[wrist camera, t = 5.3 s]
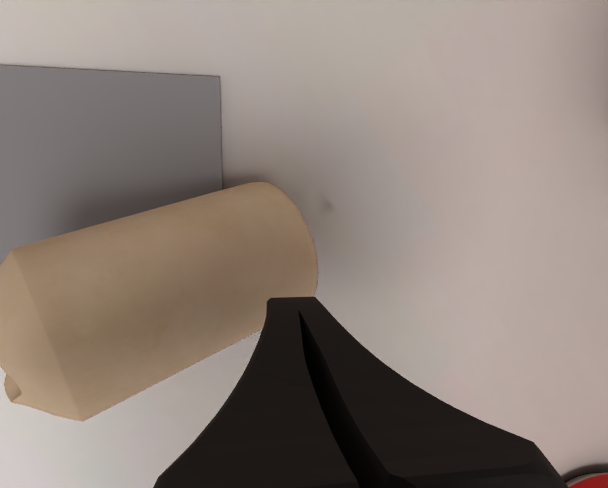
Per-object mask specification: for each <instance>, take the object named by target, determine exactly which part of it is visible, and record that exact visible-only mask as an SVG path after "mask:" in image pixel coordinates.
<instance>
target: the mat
mask: <svg viewBox="0 0 608 488" xmlns="http://www.w3.org/2000/svg"><path fill="white" fill-rule="evenodd" d="M220 190H223V188H222V145H221V102H220V76H201V75H182V74H164V73H145V72H126V71H107V70H88V69H69V68H50V67H31V66H12V65H0V265H1V264H2V262H3V261H4V259H5V258H6V256H7V255H8V254H9V252H10V251H11V249H12V248H16V247H19V246H23V245H26V244H30V243H33V242H37V241H41V240H44V239H48V238H51V237H55V236H58V235H62V234H66V233H69V232H73V231H76V230H80V229H84V228H87V227H91V226H94V225H98V224H102V223H105V222H109V221H112V220H116V219H120V218H123V217H127V216H130V215H134V214H137V213H141V212H145V211H148V210H152V209H155V208H159V207H163V206H166V205H170V204H173V203H177V202H181V201H184V200H188V199H191V198H195V197H199V196H202V195H206V194H209V193H213V192H216V191H220Z"/></svg>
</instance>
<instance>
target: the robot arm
mask: <svg viewBox="0 0 608 488" xmlns="http://www.w3.org/2000/svg"><path fill="white" fill-rule="evenodd" d="M153 488H568V486H567V485H566V483H565V482H564V481H563V479H562V478H561V477H560V475H559V474H558V473H557V471H556V470H555V469H554V467H553V466H552V465H551V463H550V462H549V461H548V459H547V458H546V457H545V456H544V454H543V453H542V452H541V451H540V449H539V448H538V447H537V446H536V445H535V444H534V442H532V441H529V440H527V439H524V438H522V437H520V436H517V435H515V434H512V433H510V432H507V431H505V430H502V429H500V428H497V427H495V426H493V425H490V424H488V423H485V422H483V421H481V420H479V419H477V418H475V417H473V416H471V415H469V414H467V413H464V412H462V411H460V410H458V409H456V408H454V407H452V406H451V405H449V404H447V403H445V402H443V401H441V400H439V399H438V398H436V397H434V396H433V395H431V394H429V393H427V392H426V391H424V390H422V389H421V388H419V387H417V386H416V385H414V384H413V383H411V382H410V381H408V380H406V379H405V378H404V377H402V376H401V375H399V374H398V373H397V372H395V371H394V370H392V369H391V368H390V367H388V366H387V365H385V364H384V363H383V362H382V361H380V360H379V359H378V358H376V357H375V356H374V355H373V354H372V353H371V352H369V351H368V350H367V349H366V348H365V347H364V346H362V345H361V344H360V343H359V342H358V341H357V340H356V339H355V338H354V337H353V336H352V335H351V334H350V333H349V332H348V331H347V330H346V329H345V328H344V327H343V326H342V325H341V324H340V323H339V322H338V321H337V320H336V319H335V318H334V317H333V316H332V315H331V314H330V313H329V312H328V310H327V309H326V308H325V307H324V306H323V305H322V304H321V303H320V302H319V301H318V300H317V299H316V297H278V298H270V299H269V300H268V301H267V308H266V319H265V323H264V326H263V329H262V332H261V335H260V338H259V341H258V344H257V346H256V348H255V350H254V353H253V355H252V357H251V359H250V361H249V363H248V365H247V367H246V369H245V371H244V373H243V375H242V377H241V378H240V380H239V382H238V383H237V385H236V387H235V388H234V390H233V391H232V393H231V394H230V396H229V397H228V399H227V400H226V402H225V403H224V405H223V406H222V408H221V409H220V410H219V412H218V413H217V414H216V416H215V417H214V418H213V419H212V420H211V422H210V423H209V424H208V425H207V426H206V428H205V429H204V430H203V431H202V432H201V434H200V435H199V436H198V437H197V438H196V440H195V441H194V442H193V443H192V444H191V445H190V446H189V447H188V448H187V449H186V450H185V451H184V452H183V453H182V454H181V455H180V456H179V457H178V458H177V459H176V460H175V461H174V462H173V463H172V464H171V465H170V466H169V467H168V468H167V469H166V470H165V471H164V472H163V473H162V474H161V475H160V476H159V477H158V479H157V481H156V483H155V485H154V487H153Z"/></svg>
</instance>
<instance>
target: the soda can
mask: <svg viewBox="0 0 608 488" xmlns="http://www.w3.org/2000/svg"><path fill="white" fill-rule="evenodd" d="M566 485H567V486H568V488H608V473H592V474H586V475H581V476H578V477H576V478H573V479H571V480H569V481H567V482H566Z"/></svg>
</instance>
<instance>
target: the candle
mask: <svg viewBox="0 0 608 488" xmlns="http://www.w3.org/2000/svg"><path fill="white" fill-rule="evenodd" d="M317 283H318V261H317V255H316V250H315V246H314V243H313V239H312V236H311V234H310V231H309V228H308V226H307V224H306V222H305V220H304V218H303V216H302V215H301V213H300V211H299V210H298V208H297V207H296V205H295V204H294V203H293V202H292V200H291V199H290V198H289V197H288V196H287V195H286V194H285V193H284V192H283V191H282V190H280V189H279V188H278V187H276V186H274V185H273V184H270V183H268V182H250V183H246V184H243V185H239V186H235V187H231V188H227V189H224V190H220V191H216V192H213V193H209V194H206V195H202V196H199V197H195V198H191V199H188V200H184V201H181V202H177V203H173V204H170V205H166V206H163V207H159V208H155V209H152V210H148V211H145V212H141V213H137V214H134V215H130V216H127V217H123V218H120V219H116V220H112V221H109V222H105V223H102V224H98V225H94V226H91V227H87V228H84V229H80V230H76V231H73V232H69V233H66V234H62V235H58V236H55V237H51V238H48V239H44V240H41V241H37V242H33V243H30V244H26V245H23V246H19V247H16V248H12V249H11V251H10V252H9V254H8V255H7V256H6V258H5V259H4V261H3V262H2V264H1V265H0V365H1V367H2V369H3V371H4V372H5V373H6V377H5V383H4V386H5V391H6V394H7V396H8V398H9V400H10V401H11V402H12V403H16V404H21V405H26V406H29V407H32V408H35V409H38V410H41V411H44V412H47V413H50V414H53V415H56V416H60V417H64V418H68V419H73V420H78V421H85V420H87V419H89V418H91V417H92V416H94V415H96V414H98V413H100V412H102V411H104V410H106V409H108V408H110V407H112V406H114V405H116V404H118V403H120V402H122V401H123V400H125V399H127V398H129V397H131V396H133V395H135V394H137V393H139V392H141V391H143V390H145V389H147V388H149V387H151V386H152V385H154V384H156V383H158V382H160V381H162V380H164V379H166V378H168V377H170V376H172V375H174V374H176V373H178V372H180V371H181V370H183V369H185V368H187V367H189V366H191V365H193V364H195V363H197V362H199V361H201V360H203V359H205V358H207V357H209V356H210V355H212V354H214V353H216V352H218V351H220V350H222V349H224V348H226V347H228V346H230V345H232V344H234V343H236V342H238V341H239V340H241V339H243V338H245V337H247V336H249V335H251V334H253V333H255V332H257V331H259V330H261V329H263V326H264V323H265V319H266V308H267V301H268V300H269V299H270V298H278V297H313V295H314V294H315V291H316V288H317Z"/></svg>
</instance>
